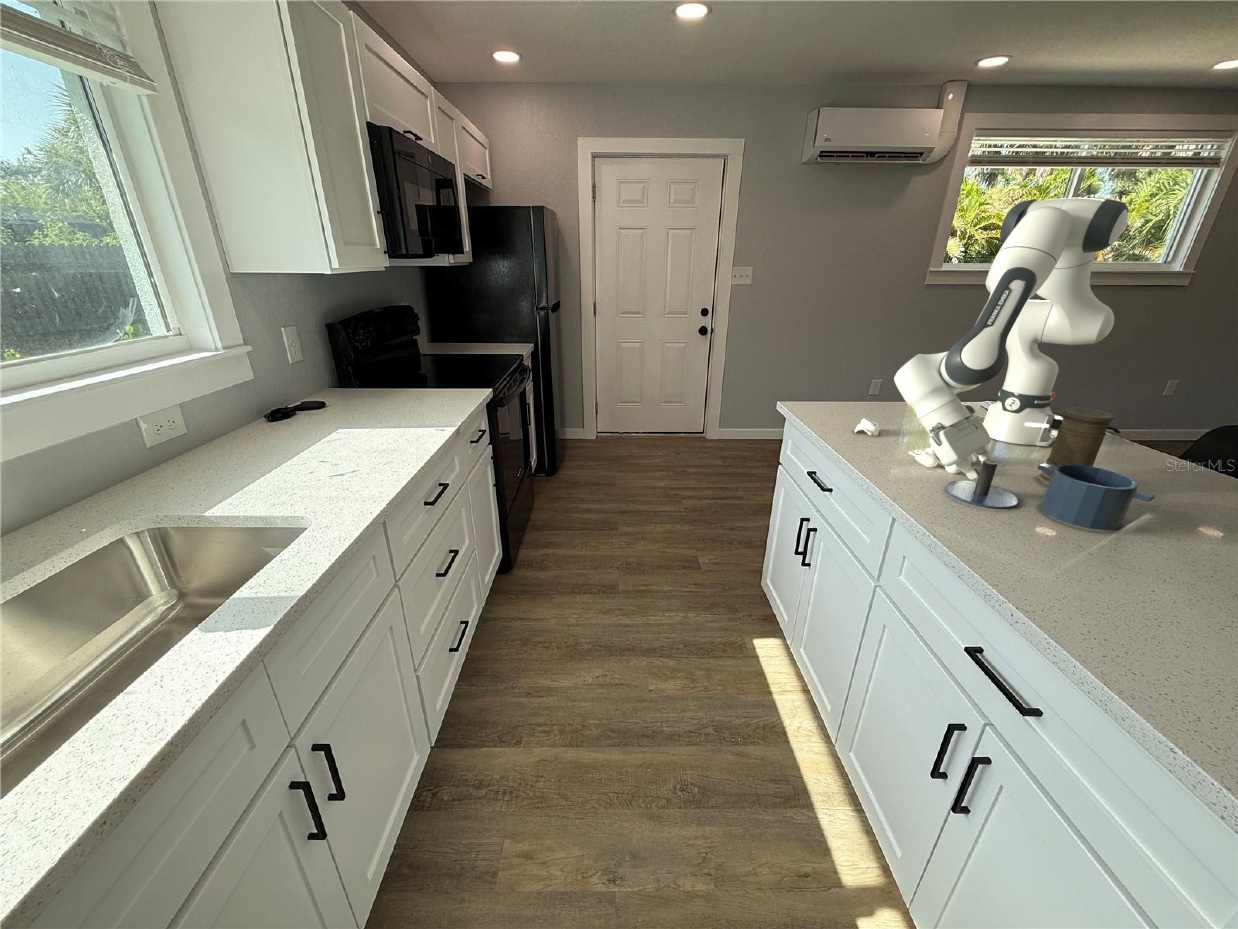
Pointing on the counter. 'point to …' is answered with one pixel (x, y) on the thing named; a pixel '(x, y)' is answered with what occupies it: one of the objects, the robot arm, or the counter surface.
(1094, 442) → the container
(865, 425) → the white arched lump
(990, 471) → the lid
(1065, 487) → the pot
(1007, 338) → the robot arm
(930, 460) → the tangled rod sculpture
